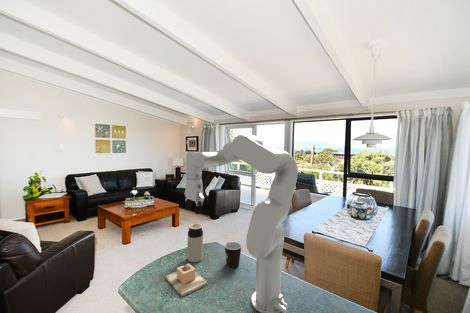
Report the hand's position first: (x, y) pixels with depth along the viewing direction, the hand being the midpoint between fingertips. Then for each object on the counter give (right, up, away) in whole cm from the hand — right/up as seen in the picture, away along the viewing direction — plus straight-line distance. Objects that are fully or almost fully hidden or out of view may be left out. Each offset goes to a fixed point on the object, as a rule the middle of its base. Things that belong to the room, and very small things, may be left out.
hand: (193, 211), depth 105 cm
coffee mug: (+19, -29, +6) cm, 35 cm away
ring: (-1, -27, -10) cm, 29 cm away
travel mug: (-1, -28, +9) cm, 30 cm away
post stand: (-1, -29, -10) cm, 30 cm away
